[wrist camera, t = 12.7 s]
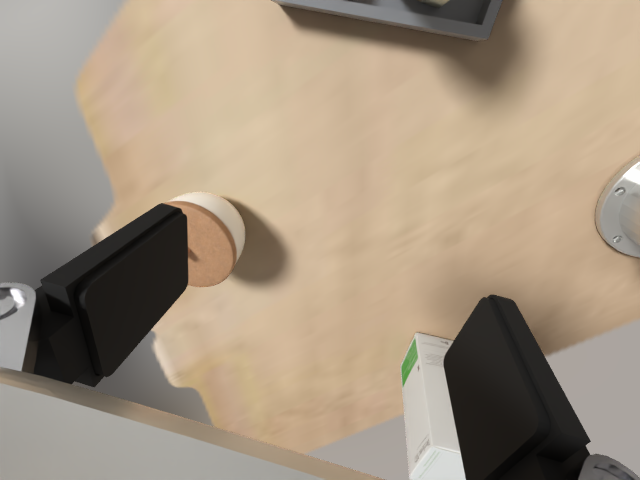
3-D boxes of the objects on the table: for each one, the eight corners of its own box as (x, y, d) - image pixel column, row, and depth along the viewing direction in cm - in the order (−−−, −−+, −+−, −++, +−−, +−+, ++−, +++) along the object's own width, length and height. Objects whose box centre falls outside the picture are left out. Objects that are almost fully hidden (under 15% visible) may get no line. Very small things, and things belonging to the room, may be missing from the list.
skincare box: (415, 329, 45) (431, 444, 31) (462, 341, 44) (496, 461, 31) (398, 366, 49) (405, 480, 36) (440, 377, 49) (463, 496, 35)
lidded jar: (192, 252, 44) (150, 294, 36) (169, 179, 39) (115, 210, 31) (263, 254, 43) (236, 299, 35) (249, 178, 37) (213, 211, 29)
